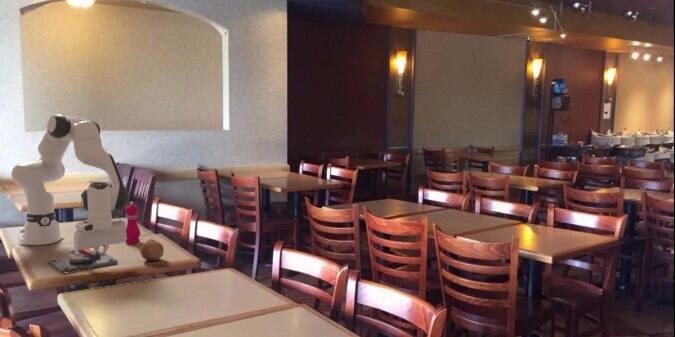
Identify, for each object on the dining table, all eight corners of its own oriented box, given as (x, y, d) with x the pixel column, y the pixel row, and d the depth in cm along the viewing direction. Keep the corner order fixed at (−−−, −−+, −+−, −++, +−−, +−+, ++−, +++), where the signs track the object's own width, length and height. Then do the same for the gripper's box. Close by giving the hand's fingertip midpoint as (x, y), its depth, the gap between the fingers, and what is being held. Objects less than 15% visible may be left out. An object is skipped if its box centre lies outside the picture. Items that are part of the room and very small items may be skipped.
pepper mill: (135, 245, 265) (134, 203, 262) (121, 243, 266) (120, 202, 263) (143, 241, 272) (142, 200, 269) (130, 240, 273) (128, 199, 271)
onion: (149, 265, 244) (148, 242, 247) (168, 261, 241) (167, 238, 245) (136, 263, 235) (135, 239, 238) (155, 258, 233) (154, 235, 236)
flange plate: (47, 263, 233) (47, 258, 233) (101, 254, 248) (101, 249, 248) (61, 274, 220) (61, 268, 220) (117, 263, 235) (117, 258, 235)
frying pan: (65, 259, 234) (64, 247, 233) (89, 254, 241) (89, 243, 240) (85, 269, 220) (84, 257, 219) (110, 264, 227) (109, 252, 226)
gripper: (122, 218, 235) (123, 250, 237) (71, 225, 221) (72, 259, 222) (128, 220, 230) (129, 253, 232) (77, 228, 216) (78, 263, 218)
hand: (101, 256), depth 227 cm, fingers closed
